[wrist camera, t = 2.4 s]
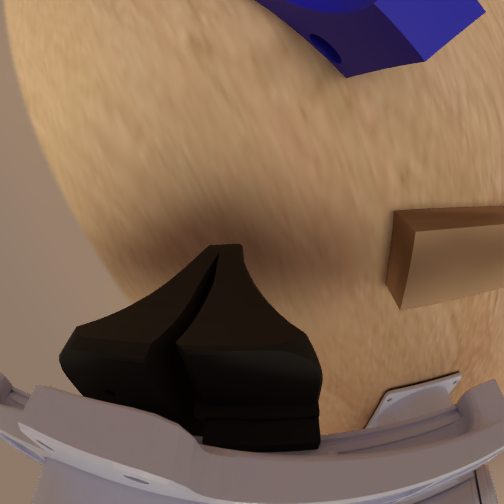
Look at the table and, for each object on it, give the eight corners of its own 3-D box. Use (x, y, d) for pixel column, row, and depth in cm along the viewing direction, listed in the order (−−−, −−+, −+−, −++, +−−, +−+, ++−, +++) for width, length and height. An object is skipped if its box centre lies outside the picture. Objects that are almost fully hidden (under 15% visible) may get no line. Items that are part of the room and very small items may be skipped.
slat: (520, 256, 12) (540, 275, 10) (383, 279, 13) (400, 310, 11) (533, 203, 10) (557, 220, 8) (391, 207, 12) (415, 231, 9)
